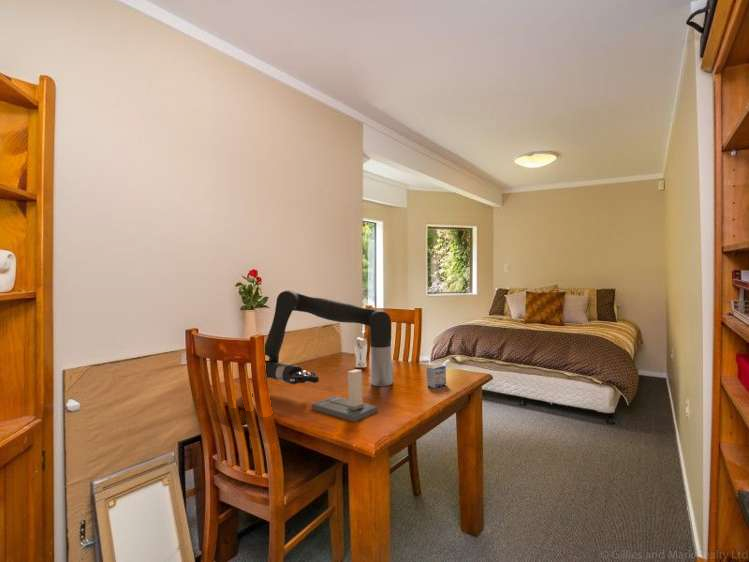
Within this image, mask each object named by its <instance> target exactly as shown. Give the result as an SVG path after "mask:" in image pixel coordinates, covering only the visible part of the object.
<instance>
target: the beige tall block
mask: <svg viewBox="0 0 749 562" xmlns="http://www.w3.org/2000/svg"><path fill="white" fill-rule="evenodd" d="M362 373H363V372H362V369H358V368H357V369H356V368H355V369H352V370H348V371H347V387H348V388H347V390H348V391H347V393H348V399H349V405H347V408H349V409H352V410H357V409H359V408H362V407H364V406H365V404H364V403H365V402H363V378H362V377H363V374H362Z"/></svg>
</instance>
